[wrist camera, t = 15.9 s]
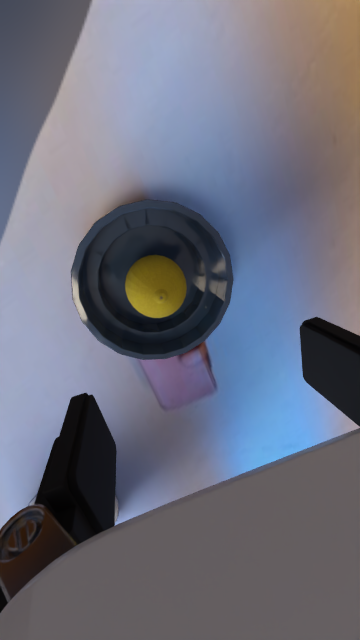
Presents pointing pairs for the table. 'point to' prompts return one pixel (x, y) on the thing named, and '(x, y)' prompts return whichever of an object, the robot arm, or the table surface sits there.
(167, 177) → the table surface
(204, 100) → the table surface
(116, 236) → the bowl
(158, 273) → the lemon
